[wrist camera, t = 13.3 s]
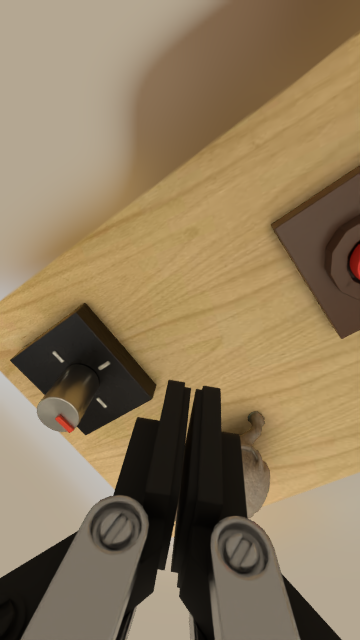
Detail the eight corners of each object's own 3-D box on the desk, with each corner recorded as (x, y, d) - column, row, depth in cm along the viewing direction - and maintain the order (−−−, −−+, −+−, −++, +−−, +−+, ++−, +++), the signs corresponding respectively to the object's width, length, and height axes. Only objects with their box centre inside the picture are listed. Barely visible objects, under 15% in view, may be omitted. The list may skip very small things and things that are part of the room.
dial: (54, 375, 35) (25, 411, 30) (81, 357, 34) (55, 392, 29) (80, 401, 36) (57, 440, 31) (106, 384, 35) (86, 423, 30)
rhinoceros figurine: (316, 463, 36) (246, 606, 28) (229, 446, 47) (159, 545, 39) (282, 408, 35) (197, 542, 26) (200, 404, 46) (121, 498, 37)
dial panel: (22, 348, 38) (8, 361, 35) (85, 302, 34) (74, 312, 32) (93, 420, 41) (85, 436, 38) (156, 385, 38) (152, 400, 35)
